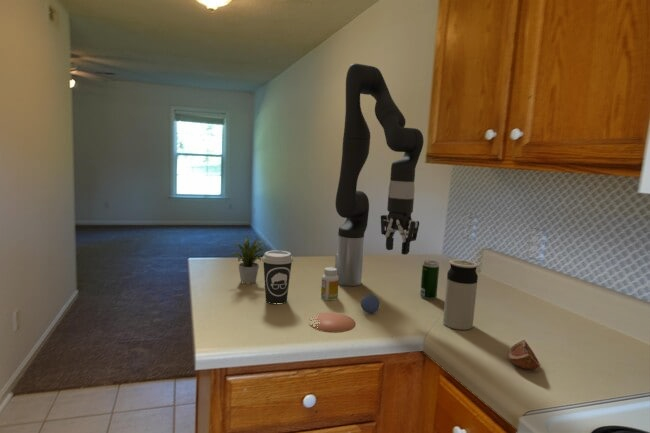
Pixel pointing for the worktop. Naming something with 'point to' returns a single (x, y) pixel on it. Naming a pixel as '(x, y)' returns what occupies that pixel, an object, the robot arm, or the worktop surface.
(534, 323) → the worktop surface
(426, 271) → the beer can
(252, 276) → the house plant
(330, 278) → the supplement bottle
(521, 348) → the fruit slice
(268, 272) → the coffee cup
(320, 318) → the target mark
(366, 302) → the ball
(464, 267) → the travel mug
